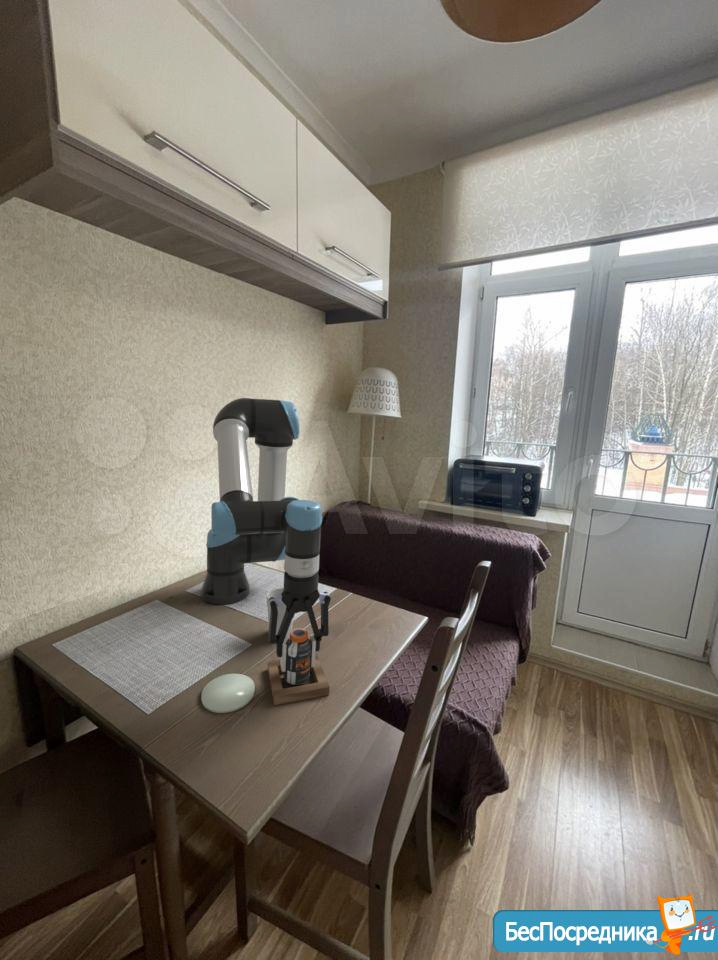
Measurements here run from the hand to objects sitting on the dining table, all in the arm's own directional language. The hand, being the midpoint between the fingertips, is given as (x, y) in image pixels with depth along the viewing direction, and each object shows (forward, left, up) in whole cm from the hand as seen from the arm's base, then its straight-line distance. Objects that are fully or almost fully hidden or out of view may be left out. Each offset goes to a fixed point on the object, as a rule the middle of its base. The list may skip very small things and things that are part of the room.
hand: (297, 665), depth 88 cm
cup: (-20, -1, -4) cm, 20 cm away
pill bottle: (0, 0, -3) cm, 3 cm away
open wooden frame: (0, 0, -4) cm, 4 cm away
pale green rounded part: (0, -15, -4) cm, 15 cm away
